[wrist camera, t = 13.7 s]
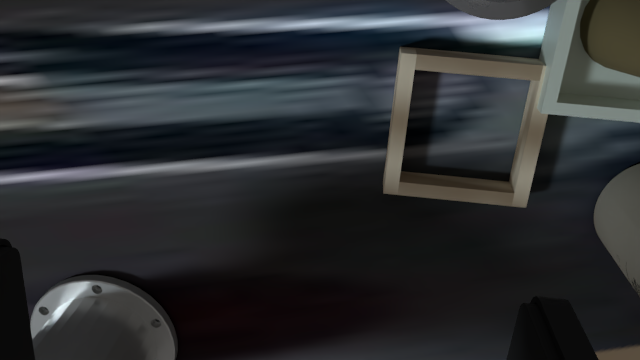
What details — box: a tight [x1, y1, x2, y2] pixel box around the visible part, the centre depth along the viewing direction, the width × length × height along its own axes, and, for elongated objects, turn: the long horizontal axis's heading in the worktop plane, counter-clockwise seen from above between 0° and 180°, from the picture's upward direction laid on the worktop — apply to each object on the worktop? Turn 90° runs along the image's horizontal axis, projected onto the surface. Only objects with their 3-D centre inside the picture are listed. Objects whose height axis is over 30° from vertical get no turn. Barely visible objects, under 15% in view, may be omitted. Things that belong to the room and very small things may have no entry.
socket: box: [383, 47, 548, 208], centre depth 42 cm, size 10×10×2 cm
